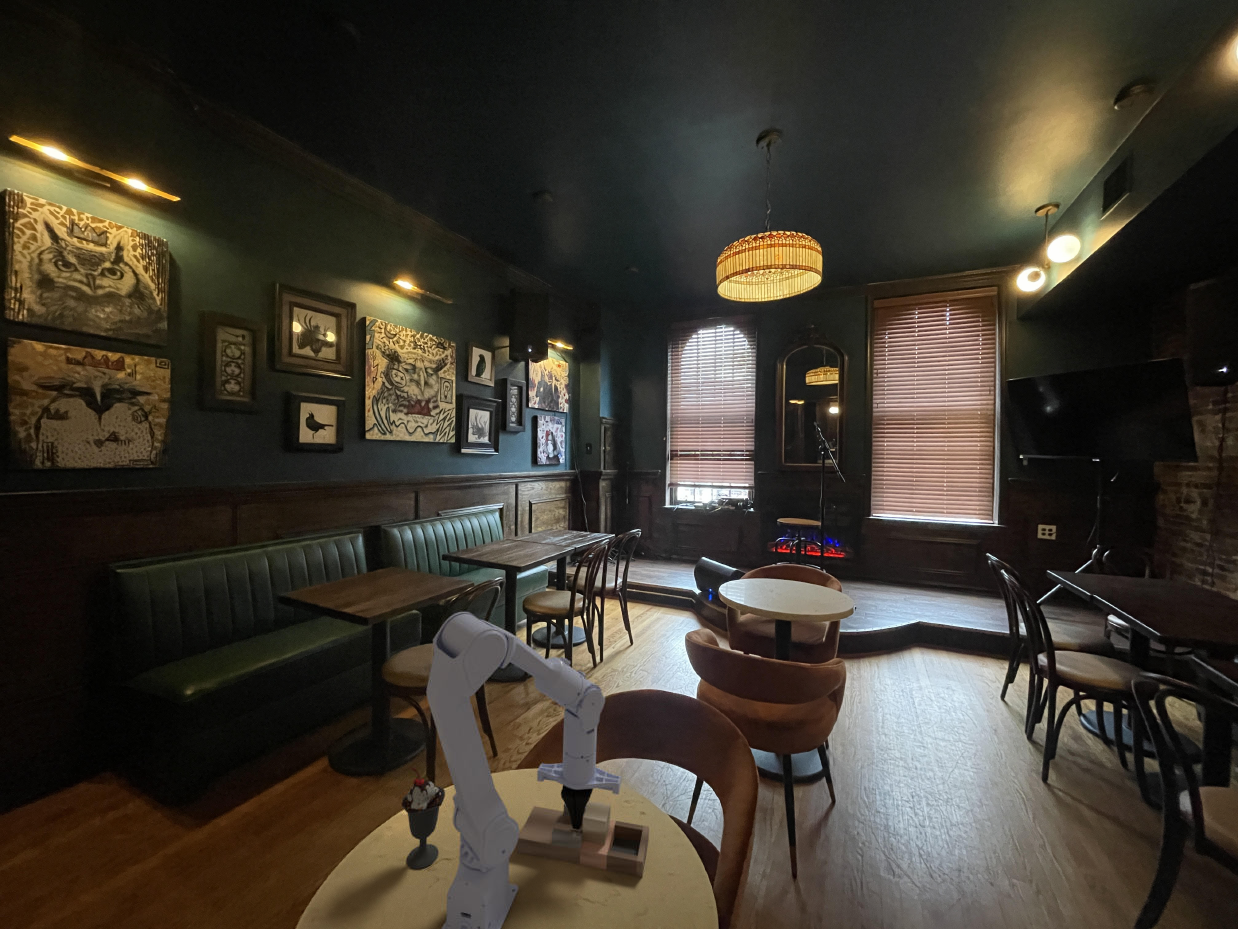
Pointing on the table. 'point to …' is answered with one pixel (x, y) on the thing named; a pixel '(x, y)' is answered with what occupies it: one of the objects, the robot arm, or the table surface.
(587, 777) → the robot arm
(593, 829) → the block
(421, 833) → the sundae
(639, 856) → the wooden stepped tray
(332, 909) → the table surface
